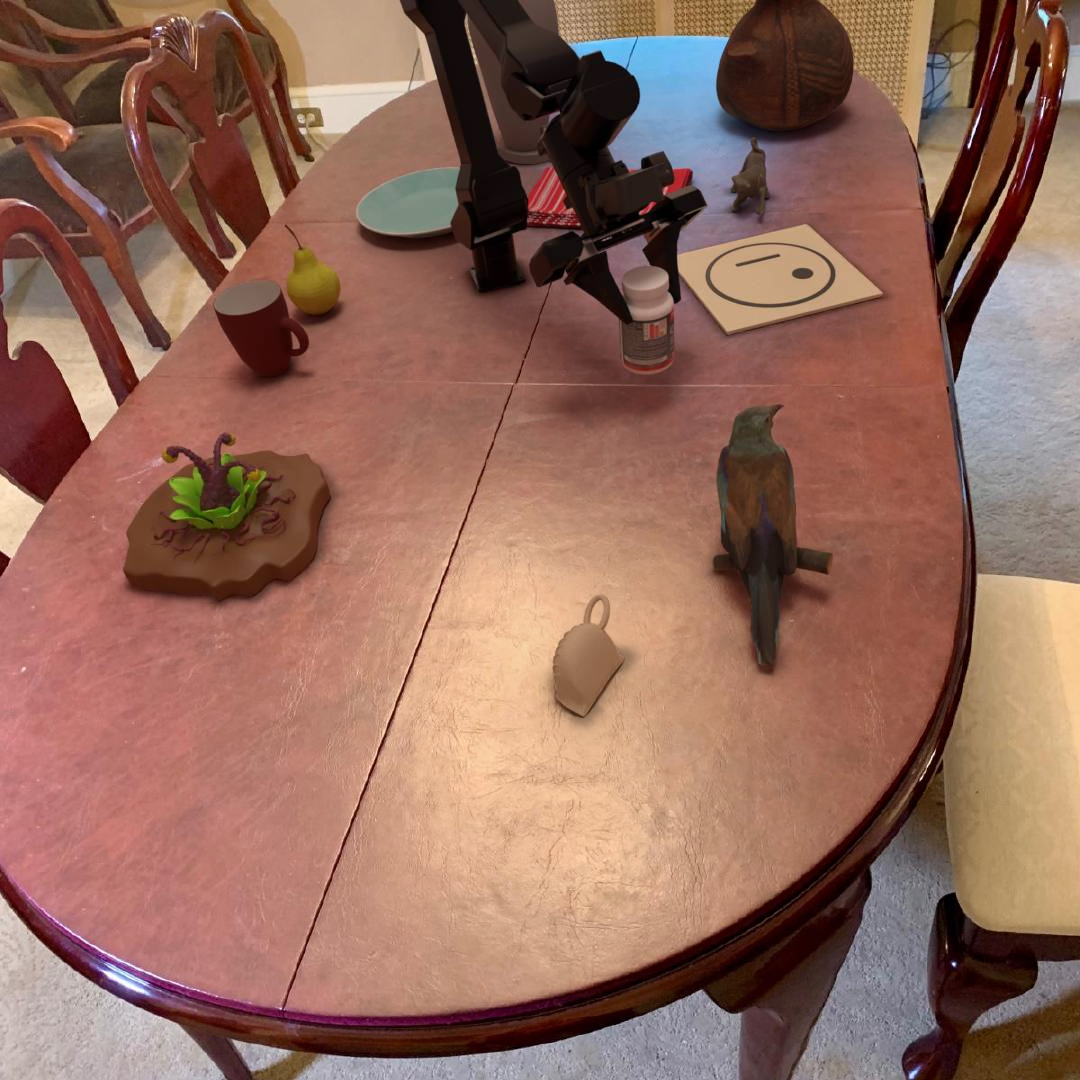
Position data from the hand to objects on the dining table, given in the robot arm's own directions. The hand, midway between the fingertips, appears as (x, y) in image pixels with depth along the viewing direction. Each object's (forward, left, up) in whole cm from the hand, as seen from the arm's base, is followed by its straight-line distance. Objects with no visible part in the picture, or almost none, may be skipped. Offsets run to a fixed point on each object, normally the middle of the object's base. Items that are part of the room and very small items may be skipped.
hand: (654, 312), depth 95 cm
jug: (-65, +45, -11) cm, 80 cm away
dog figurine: (-39, +28, -11) cm, 50 cm away
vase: (-73, +4, -11) cm, 74 cm away
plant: (+3, -47, -11) cm, 48 cm away
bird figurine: (+28, 0, -11) cm, 30 cm away
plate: (-58, -15, -11) cm, 61 cm away
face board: (-19, +22, -11) cm, 31 cm away
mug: (-25, -40, -11) cm, 49 cm away
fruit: (-37, -34, -11) cm, 52 cm away
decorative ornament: (+33, -18, -11) cm, 39 cm away
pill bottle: (-1, 0, -7) cm, 7 cm away
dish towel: (-49, +10, -11) cm, 51 cm away
